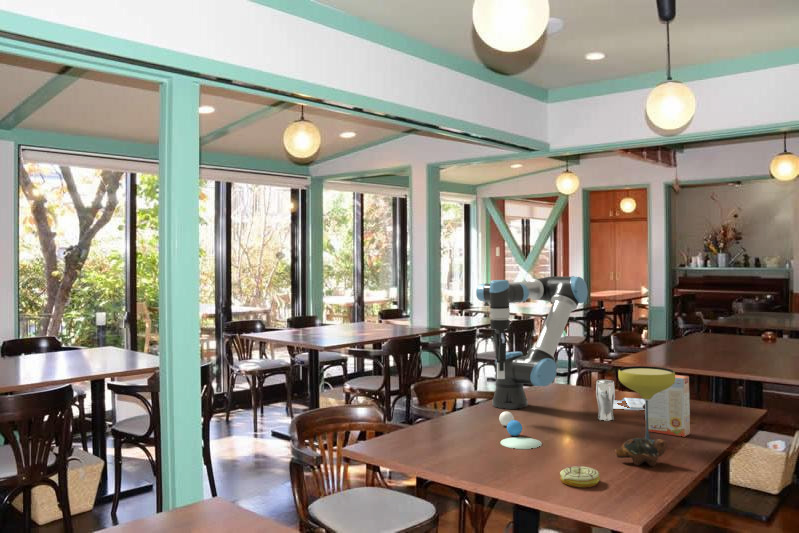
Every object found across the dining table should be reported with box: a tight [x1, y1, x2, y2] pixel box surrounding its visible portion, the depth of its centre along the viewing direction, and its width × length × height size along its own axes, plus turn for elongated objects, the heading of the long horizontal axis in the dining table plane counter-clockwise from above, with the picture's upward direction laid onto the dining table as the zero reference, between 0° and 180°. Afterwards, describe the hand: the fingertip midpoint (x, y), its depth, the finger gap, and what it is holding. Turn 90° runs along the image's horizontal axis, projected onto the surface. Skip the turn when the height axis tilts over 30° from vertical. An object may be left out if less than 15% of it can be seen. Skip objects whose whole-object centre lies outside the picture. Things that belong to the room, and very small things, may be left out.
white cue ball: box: [498, 410, 515, 427], centre depth 248 cm, size 6×6×6 cm
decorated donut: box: [559, 465, 601, 489], centre depth 184 cm, size 10×11×4 cm
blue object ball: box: [506, 419, 523, 437], centre depth 234 cm, size 6×6×6 cm
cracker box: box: [644, 374, 691, 438], centre depth 234 cm, size 14×6×21 cm, turn 47°
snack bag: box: [613, 397, 645, 411], centre depth 279 cm, size 19×20×2 cm
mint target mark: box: [500, 436, 543, 450], centre depth 224 cm, size 14×14×1 cm
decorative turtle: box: [614, 437, 668, 468], centre depth 200 cm, size 10×15×8 cm, turn 80°
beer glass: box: [595, 379, 616, 422], centre depth 255 cm, size 7×7×15 cm
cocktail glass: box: [617, 365, 676, 443], centre depth 220 cm, size 18×18×25 cm
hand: (501, 378), depth 258 cm, fingers closed
